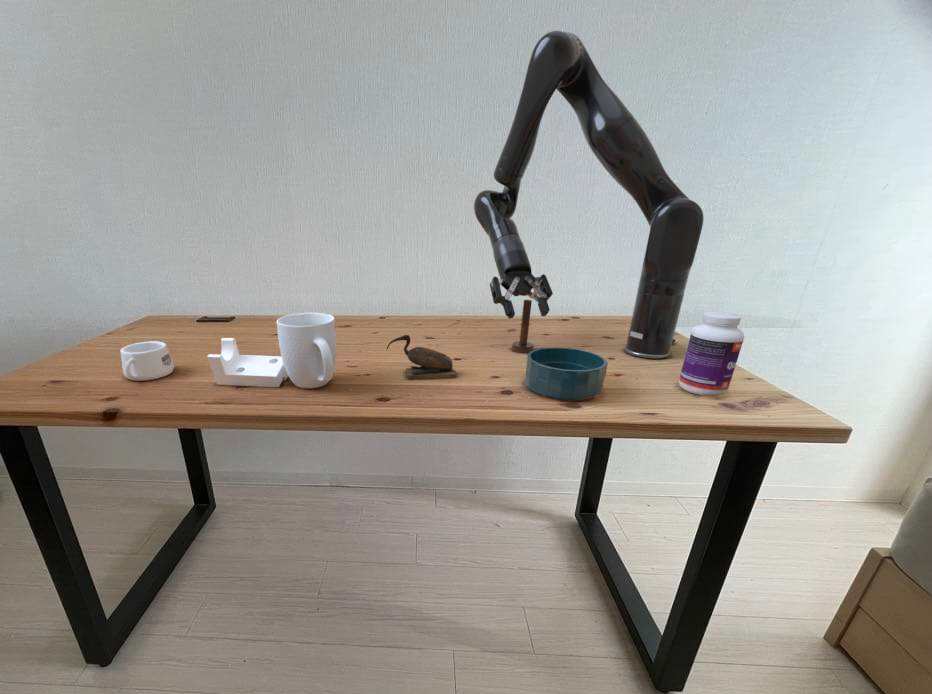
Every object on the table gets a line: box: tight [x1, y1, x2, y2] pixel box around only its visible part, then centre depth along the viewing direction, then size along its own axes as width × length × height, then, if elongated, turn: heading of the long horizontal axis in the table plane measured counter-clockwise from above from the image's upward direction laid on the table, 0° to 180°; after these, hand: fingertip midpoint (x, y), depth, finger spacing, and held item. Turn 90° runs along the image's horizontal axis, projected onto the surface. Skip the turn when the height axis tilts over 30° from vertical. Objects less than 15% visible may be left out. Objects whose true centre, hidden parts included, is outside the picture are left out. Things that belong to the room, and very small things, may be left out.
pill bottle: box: [677, 310, 745, 397], centre depth 83 cm, size 8×8×14 cm
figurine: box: [386, 334, 456, 380], centre depth 93 cm, size 14×4×9 cm, turn 95°
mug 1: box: [120, 340, 175, 382], centre depth 95 cm, size 12×10×6 cm
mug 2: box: [276, 312, 338, 389], centre depth 88 cm, size 15×11×13 cm
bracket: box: [206, 337, 289, 388], centre depth 92 cm, size 13×7×8 cm, turn 82°
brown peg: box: [511, 299, 535, 354], centre depth 108 cm, size 5×5×12 cm
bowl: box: [524, 346, 609, 401], centre depth 87 cm, size 14×14×6 cm
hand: (528, 315), depth 106 cm, fingers open, 8 cm apart
